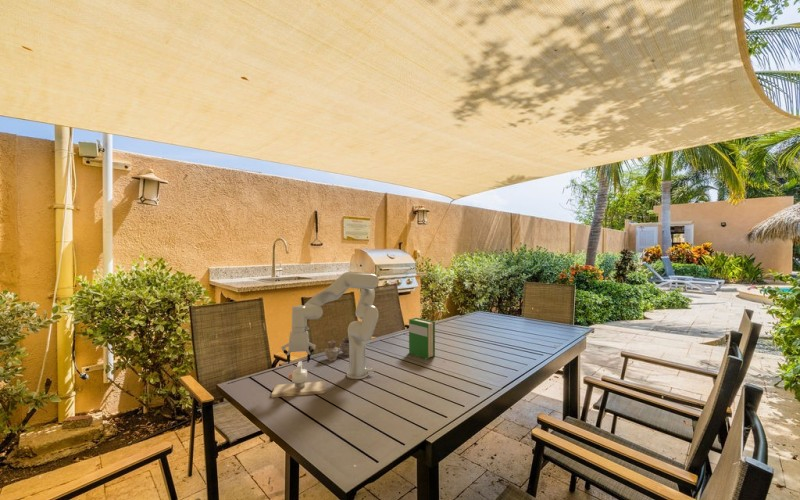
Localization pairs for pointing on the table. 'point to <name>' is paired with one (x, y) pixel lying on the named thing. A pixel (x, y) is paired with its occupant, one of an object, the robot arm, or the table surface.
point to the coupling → (298, 374)
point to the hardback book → (422, 337)
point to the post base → (298, 389)
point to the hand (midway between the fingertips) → (298, 362)
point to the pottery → (337, 349)
